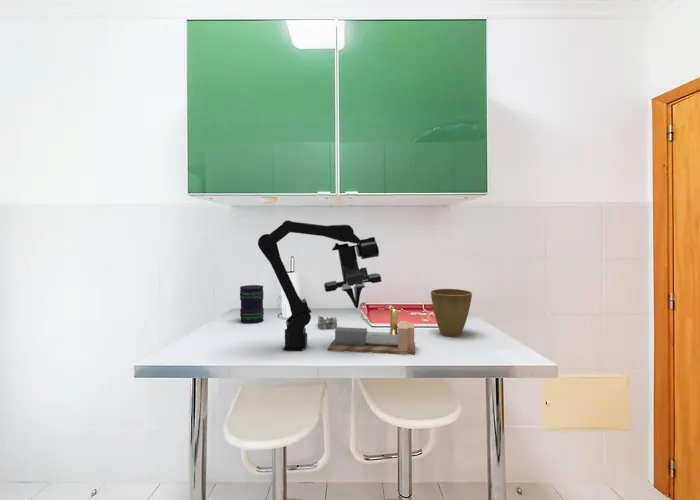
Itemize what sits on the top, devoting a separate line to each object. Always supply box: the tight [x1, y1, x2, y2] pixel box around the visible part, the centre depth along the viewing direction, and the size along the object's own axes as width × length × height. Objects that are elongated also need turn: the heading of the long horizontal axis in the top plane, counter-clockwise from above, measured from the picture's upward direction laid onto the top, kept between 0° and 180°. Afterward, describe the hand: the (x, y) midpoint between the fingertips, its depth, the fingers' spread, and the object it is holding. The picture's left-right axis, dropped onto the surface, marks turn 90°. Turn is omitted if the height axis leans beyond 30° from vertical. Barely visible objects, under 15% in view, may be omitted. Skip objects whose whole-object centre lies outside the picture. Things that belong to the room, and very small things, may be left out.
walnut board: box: [327, 338, 416, 356], centre depth 132 cm, size 28×11×1 cm, turn 81°
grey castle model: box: [317, 314, 338, 331], centre depth 162 cm, size 11×8×4 cm
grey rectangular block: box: [334, 326, 368, 347], centre depth 133 cm, size 10×5×5 cm, turn 81°
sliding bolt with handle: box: [366, 308, 399, 344], centre depth 131 cm, size 14×3×11 cm, turn 81°
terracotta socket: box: [398, 320, 415, 351], centre depth 130 cm, size 5×10×7 cm, turn 171°
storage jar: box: [239, 284, 265, 325], centre depth 171 cm, size 10×10×15 cm
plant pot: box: [430, 288, 473, 337], centre depth 149 cm, size 15×15×16 cm
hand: (356, 307), depth 134 cm, fingers closed
